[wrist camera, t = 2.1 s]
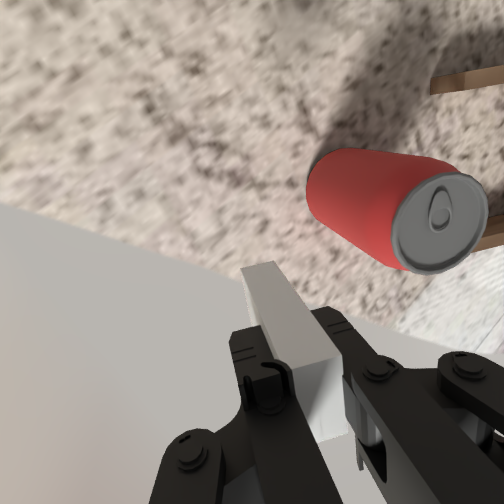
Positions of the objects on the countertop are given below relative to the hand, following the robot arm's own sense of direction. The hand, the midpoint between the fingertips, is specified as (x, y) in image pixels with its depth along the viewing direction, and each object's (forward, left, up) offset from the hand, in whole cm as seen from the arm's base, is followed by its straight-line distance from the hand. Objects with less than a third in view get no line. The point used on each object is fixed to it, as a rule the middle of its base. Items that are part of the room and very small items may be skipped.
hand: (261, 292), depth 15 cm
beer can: (0, +10, -14) cm, 17 cm away
